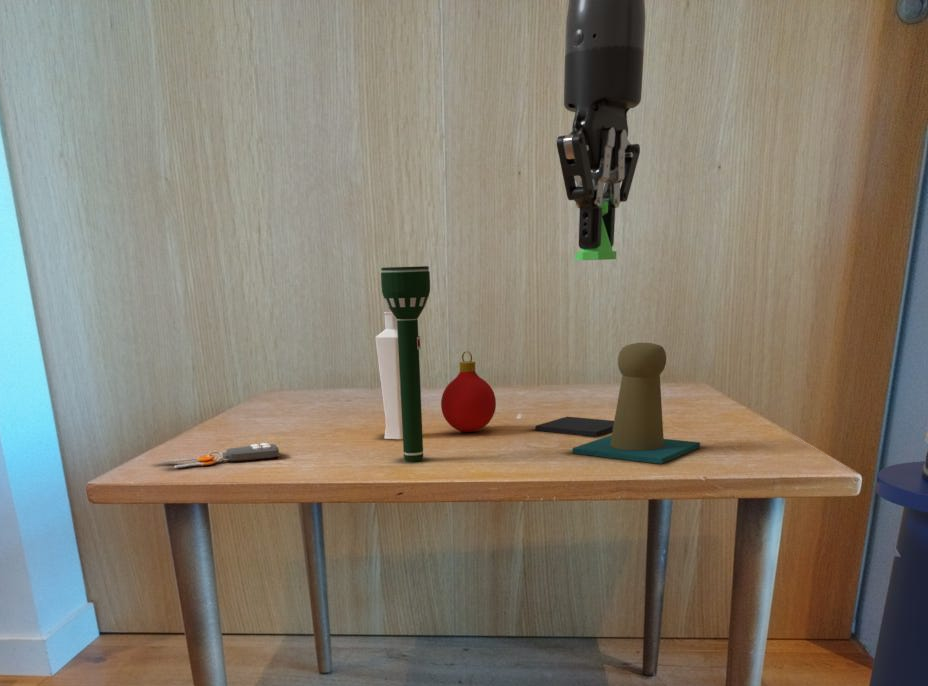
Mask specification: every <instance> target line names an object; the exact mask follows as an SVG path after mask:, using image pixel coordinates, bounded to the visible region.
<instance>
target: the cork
mask: <svg viewBox="0 0 928 686" xmlns="http://www.w3.org/2000/svg"><path fill="white" fill-rule="evenodd" d="M666 365H667V353H666V351H665V349H664V346H662V345H660V344H657V343H653V342H635V343H630V344H627V345H624V346H623V347H622V348H621V349H620V351H619V353H618V356H617V367H618V371H619V372H620V373H621V381H620V387H619V392H618V397H617V403H616V409H615V415H614V420H613V421H614V425H613V431H611V435H612V437H611V442H610V446H611V447H613V448H617V449H623V450H653V449H659V448H662V447H663V446H664V439H665V437H664V424H663V423H664V422H663V405H662V391H661V390H662V389H661V374H662V373H663V372H664V370H665V367H666Z"/></svg>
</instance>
